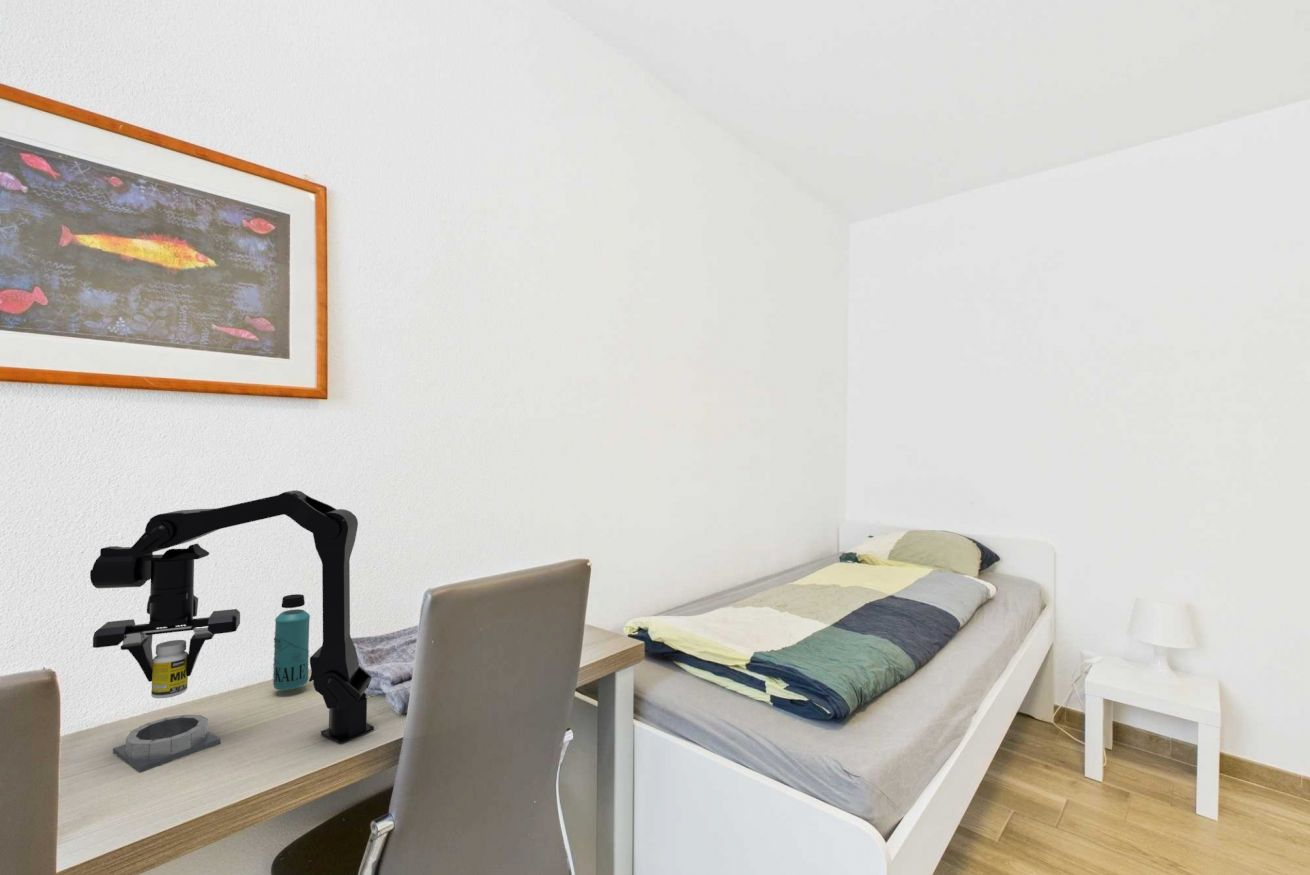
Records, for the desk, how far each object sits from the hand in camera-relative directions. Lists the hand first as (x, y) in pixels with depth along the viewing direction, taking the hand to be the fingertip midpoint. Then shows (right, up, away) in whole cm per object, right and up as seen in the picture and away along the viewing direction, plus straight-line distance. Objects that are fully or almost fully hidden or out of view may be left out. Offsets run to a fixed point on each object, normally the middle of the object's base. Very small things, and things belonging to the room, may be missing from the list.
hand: (170, 678), depth 101 cm
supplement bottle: (0, -3, 0) cm, 3 cm away
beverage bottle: (+6, -13, +23) cm, 27 cm away
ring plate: (0, -12, 0) cm, 12 cm away
